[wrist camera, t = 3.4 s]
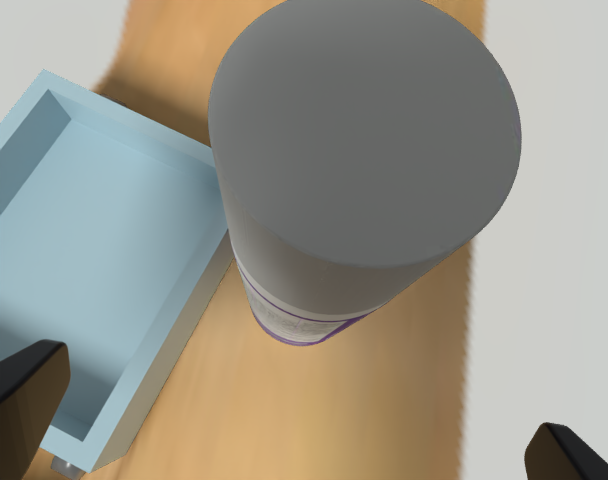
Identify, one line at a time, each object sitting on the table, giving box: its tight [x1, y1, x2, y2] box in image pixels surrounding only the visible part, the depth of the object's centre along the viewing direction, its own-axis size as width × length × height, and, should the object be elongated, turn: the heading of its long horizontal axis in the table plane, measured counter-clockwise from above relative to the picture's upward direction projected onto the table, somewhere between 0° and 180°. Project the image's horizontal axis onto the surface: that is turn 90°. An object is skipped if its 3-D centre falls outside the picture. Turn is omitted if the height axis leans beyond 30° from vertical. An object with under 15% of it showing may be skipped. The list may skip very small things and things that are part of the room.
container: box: [208, 0, 521, 346], centre depth 14 cm, size 5×5×15 cm
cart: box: [0, 69, 234, 480], centre depth 19 cm, size 15×10×4 cm
